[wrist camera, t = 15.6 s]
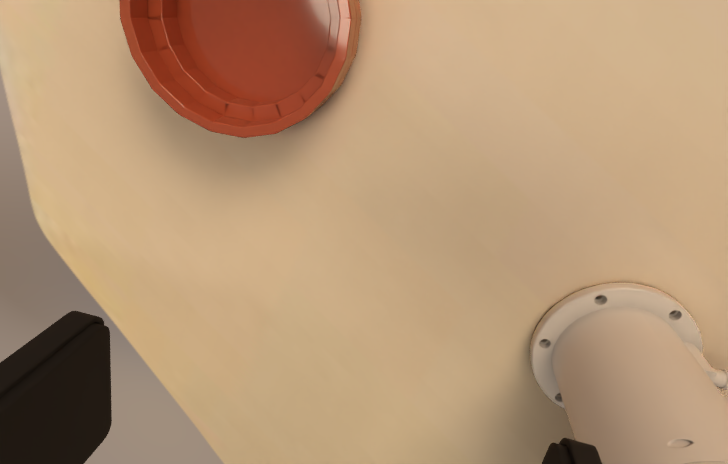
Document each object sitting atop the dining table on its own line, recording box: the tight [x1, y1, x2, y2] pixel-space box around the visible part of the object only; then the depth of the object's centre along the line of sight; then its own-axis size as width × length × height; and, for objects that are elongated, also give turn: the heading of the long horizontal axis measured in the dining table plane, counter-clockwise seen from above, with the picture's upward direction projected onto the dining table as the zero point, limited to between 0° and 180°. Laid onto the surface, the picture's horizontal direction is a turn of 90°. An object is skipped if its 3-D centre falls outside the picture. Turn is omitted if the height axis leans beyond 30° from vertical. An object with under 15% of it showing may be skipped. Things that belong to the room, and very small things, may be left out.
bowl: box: [120, 0, 361, 138], centre depth 33 cm, size 14×14×4 cm
